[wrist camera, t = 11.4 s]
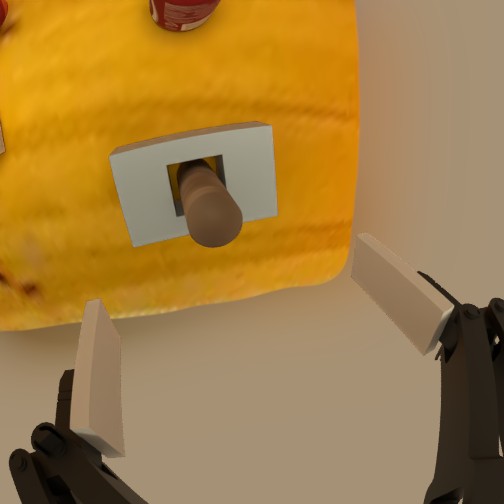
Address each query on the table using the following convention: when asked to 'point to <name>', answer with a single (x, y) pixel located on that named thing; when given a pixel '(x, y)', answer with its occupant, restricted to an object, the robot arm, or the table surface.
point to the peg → (207, 205)
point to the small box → (1, 142)
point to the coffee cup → (3, 11)
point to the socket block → (184, 149)
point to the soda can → (181, 13)
